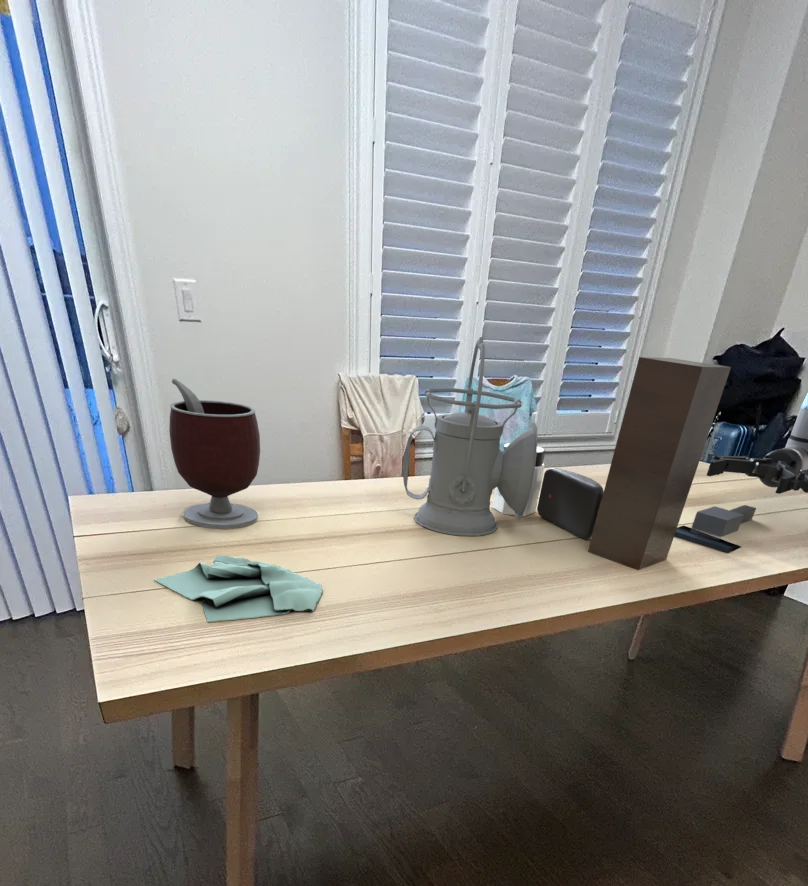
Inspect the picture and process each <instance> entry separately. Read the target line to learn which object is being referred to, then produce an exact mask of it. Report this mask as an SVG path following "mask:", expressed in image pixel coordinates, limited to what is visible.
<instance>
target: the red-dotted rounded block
mask: <svg viewBox="0 0 808 886" xmlns="http://www.w3.org/2000/svg"><path fill="white" fill-rule="evenodd" d="M603 493H604V487H603V486H602V485H601V484H600V483H599V482H598V481H596V480H594V479H592V478H590V477H588V476H585V475H583V474H580V473H577V472H574V471H570V470H567V469H563V468H558V467H549V468H547V469H546V470H544V472H543V477H542V482H541V486H540V491H539V496H538V501H537V506H536V511H537V513H538V515H539V516H540V517H541V518H543V519H545V520H546V521H549V522H550V523H552V524H553V525H556V526H558V527H560V528H562V529H564V530H566V531H568V532H569V533H571V534H573V535H576V536H577V537H579V538H581V539H584V540H589V539H591V538H592V535H593V531H594V527H595V523H596V519H597V515H598V512H599V508H600V504H601V500H602V496H603Z"/></svg>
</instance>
